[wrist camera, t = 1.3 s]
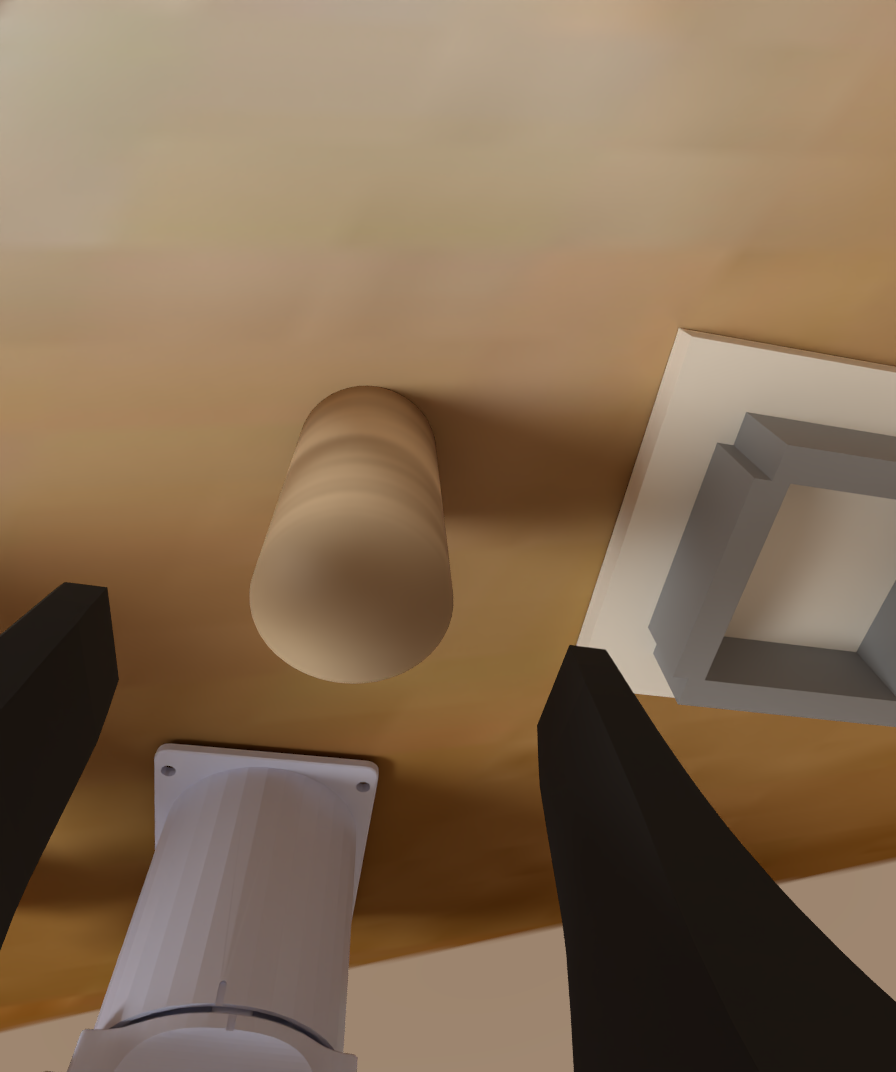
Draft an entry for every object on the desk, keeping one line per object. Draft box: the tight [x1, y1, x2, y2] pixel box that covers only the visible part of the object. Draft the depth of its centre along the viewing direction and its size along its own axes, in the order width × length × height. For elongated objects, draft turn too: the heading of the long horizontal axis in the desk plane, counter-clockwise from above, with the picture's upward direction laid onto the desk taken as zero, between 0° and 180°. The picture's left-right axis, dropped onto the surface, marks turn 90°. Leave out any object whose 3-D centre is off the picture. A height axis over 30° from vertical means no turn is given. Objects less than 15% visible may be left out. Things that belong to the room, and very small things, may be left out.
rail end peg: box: [249, 386, 453, 684], centre depth 18 cm, size 4×4×8 cm
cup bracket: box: [576, 328, 896, 727], centre depth 22 cm, size 12×12×4 cm
